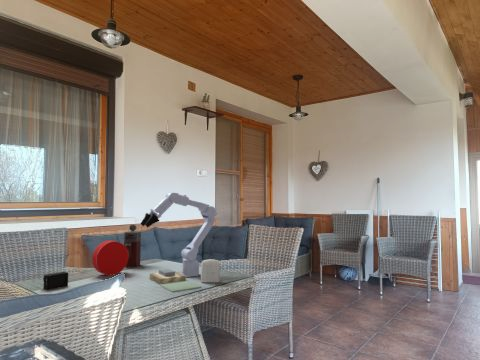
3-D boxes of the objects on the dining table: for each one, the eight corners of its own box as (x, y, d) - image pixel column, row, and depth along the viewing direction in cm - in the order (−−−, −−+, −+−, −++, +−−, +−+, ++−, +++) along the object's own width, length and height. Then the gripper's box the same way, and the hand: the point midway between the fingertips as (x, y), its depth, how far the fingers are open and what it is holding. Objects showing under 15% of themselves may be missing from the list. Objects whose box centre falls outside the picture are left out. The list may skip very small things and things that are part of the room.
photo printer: (219, 281, 192) (219, 258, 192) (219, 282, 187) (219, 260, 188) (201, 281, 191) (201, 258, 192) (200, 283, 187) (201, 260, 187)
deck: (174, 275, 204) (174, 270, 204) (185, 281, 191) (185, 275, 191) (149, 279, 195) (149, 273, 195) (160, 284, 182) (160, 279, 182)
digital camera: (62, 284, 182) (63, 271, 183) (68, 285, 179) (68, 272, 179) (42, 288, 174) (42, 274, 174) (47, 290, 171) (48, 275, 171)
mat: (187, 281, 190) (187, 280, 190) (201, 287, 177) (201, 286, 177) (159, 285, 181) (159, 284, 181) (172, 292, 168) (172, 291, 168)
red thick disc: (123, 271, 215) (124, 239, 217) (128, 272, 211) (129, 240, 213) (91, 276, 201) (92, 241, 202) (95, 277, 197) (96, 242, 198)
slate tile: (168, 272, 199) (168, 268, 199) (175, 275, 192) (175, 271, 192) (158, 273, 196) (158, 270, 196) (164, 276, 189) (164, 272, 189)
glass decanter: (122, 267, 226) (123, 225, 228) (127, 264, 237) (128, 224, 239) (135, 267, 226) (136, 225, 228) (140, 264, 238) (141, 224, 239)
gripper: (152, 203, 202) (135, 219, 196) (161, 203, 190) (143, 221, 184) (160, 211, 204) (143, 228, 198) (169, 212, 192) (152, 230, 186)
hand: (143, 225), depth 191 cm, fingers open, 7 cm apart
